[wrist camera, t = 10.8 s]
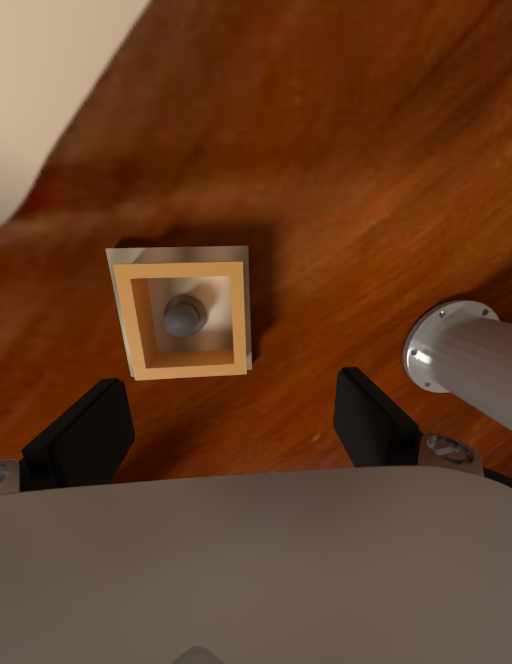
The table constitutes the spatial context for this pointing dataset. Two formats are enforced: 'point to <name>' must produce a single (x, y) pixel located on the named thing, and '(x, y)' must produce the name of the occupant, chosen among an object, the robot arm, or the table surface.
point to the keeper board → (188, 299)
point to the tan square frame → (143, 331)
